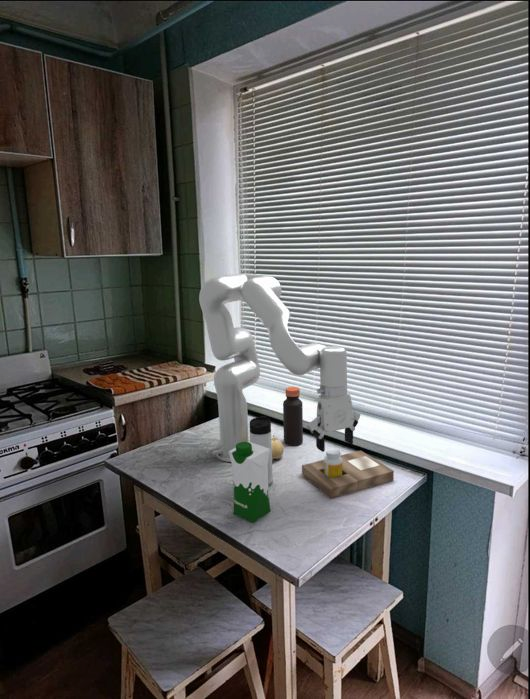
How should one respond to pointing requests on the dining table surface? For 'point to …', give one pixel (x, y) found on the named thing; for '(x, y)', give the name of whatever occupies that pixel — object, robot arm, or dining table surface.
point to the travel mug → (262, 438)
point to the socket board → (349, 474)
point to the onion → (276, 448)
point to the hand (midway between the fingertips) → (335, 446)
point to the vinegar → (293, 417)
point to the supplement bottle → (332, 463)
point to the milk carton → (250, 480)
